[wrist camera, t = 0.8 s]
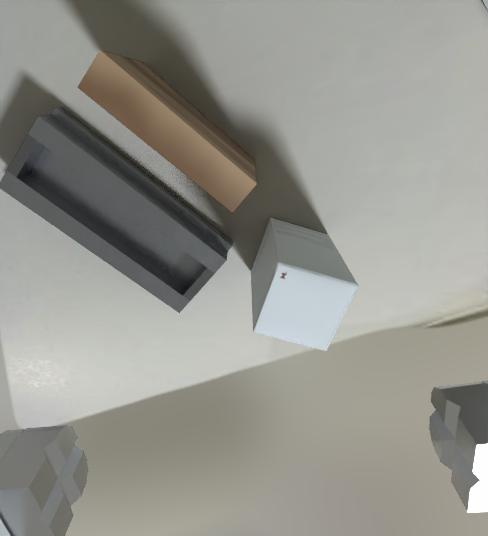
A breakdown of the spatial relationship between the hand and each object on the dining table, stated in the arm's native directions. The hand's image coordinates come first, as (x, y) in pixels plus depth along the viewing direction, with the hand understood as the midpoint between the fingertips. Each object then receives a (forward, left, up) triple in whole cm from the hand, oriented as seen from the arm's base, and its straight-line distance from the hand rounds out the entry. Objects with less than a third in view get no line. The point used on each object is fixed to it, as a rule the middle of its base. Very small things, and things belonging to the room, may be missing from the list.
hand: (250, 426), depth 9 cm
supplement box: (+5, +10, -36) cm, 37 cm away
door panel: (+1, -7, -35) cm, 36 cm away
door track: (+13, -7, -35) cm, 38 cm away
